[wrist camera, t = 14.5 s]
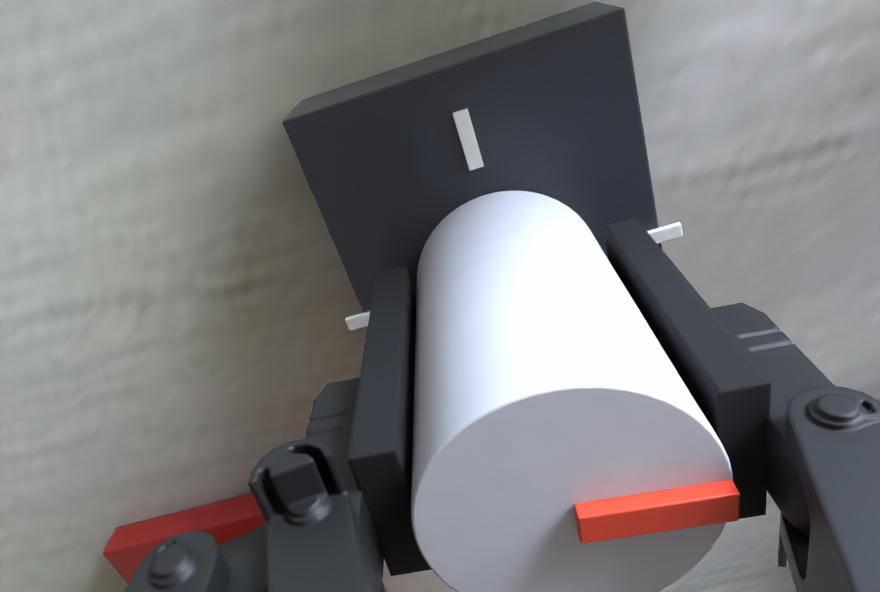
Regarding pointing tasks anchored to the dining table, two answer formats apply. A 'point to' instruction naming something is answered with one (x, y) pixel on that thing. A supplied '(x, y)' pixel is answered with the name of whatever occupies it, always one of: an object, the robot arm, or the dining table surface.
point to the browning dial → (551, 415)
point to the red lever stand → (182, 530)
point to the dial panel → (479, 140)
